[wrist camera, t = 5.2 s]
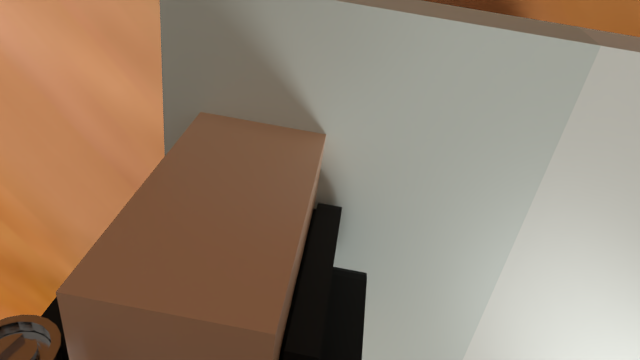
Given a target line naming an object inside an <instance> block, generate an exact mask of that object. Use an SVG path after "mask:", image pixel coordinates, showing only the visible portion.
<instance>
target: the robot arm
mask: <svg viewBox="0 0 640 360" xmlns="http://www.w3.org/2000/svg"><path fill="white" fill-rule="evenodd" d="M341 212H342V207H339V206H334V205H328V204H323V203H318V204H317V208H316V209H313V213H312V217H311V221H310V225H309V230H308V234H307V238H306V242H305V247H304V251H303V255H302V259H301V264H300V268H299V272H298V276H297V281H296V285H295V289H294V293H293V297H292V302H291V306H290V310H289V314H288V319H287V323H286V327H285V331H284V336H283V340H282V345H281V351H280V356H279V360H362V348H363V333H364V317H365V301H366V285H367V273H365V272H359V271H354V270H349V269H343V268H338V267H333V265H334V258H335V252H336V245H337V238H338V232H339V225H340V219H341ZM0 360H69V356H68V351H67V346H66V341H65V335H64V330H63V325H62V320H61V315H60V310H59V305H58V300H57V297H56V298H55V299H54V301H53V302H52V303H51V304H50V306H49V307H48V308H47V310H46V311H45V312H44V313H43V315H42V316H37V315H18V316H12V317H7V318H4V319H1V320H0Z"/></svg>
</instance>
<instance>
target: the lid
mask: <svg viewBox="0 0 640 360" xmlns="http://www.w3.org/2000/svg"><path fill="white" fill-rule="evenodd" d="M160 21H161V52H162V83H163V114H164V145H165V157H164V158H163V159H162V160H161V162H160V163H159V164H158V165H157V167H156V168H155V169H154V170H153V172H152V173H151V174H150V175H149V177H148V178H147V179H146V180H145V182H144V183H143V184H142V185H141V187H140V188H139V189H138V190H137V192H136V193H135V194H134V195H133V197H132V198H131V199H130V200H129V202H128V203H127V204H126V205H125V207H124V208H123V209H122V210H121V212H120V213H119V214H118V215H117V217H116V218H115V219H114V220H113V222H112V223H111V224H110V225H109V227H108V228H107V229H106V230H105V232H104V233H103V234H102V235H101V237H100V238H99V239H98V240H97V242H96V243H95V244H94V245H93V247H92V248H91V249H90V250H89V252H88V253H87V254H86V255H85V257H84V258H83V259H82V260H81V261H80V263H79V264H78V265H77V266H76V268H75V269H74V270H73V271H72V273H71V274H70V275H69V276H68V278H67V279H66V280H65V281H64V283H63V284H62V285H61V286H60V288H59V289H58V290H57V291H56V295H57V300H58V305H59V310H60V315H61V320H62V325H63V330H64V335H65V341H66V346H67V351H68V356H69V360H279V356H280V351H281V345H282V340H283V336H284V331H285V327H286V323H287V319H288V314H289V310H290V306H291V302H292V297H293V293H294V289H295V285H296V281H297V276H298V272H299V268H300V264H301V259H302V255H303V251H304V247H305V242H306V238H307V234H308V230H309V225H310V221H311V217H312V213H313V209H316V208H317V204H318V203H323V204H328V205H334V206H339V207H342V212H341V219H340V225H339V232H338V238H337V245H336V252H335V258H334V265H333V267H338V268H343V269H349V270H354V271H359V272H365V273H367V285H366V301H365V317H364V333H363V348H362V360H640V37H635V36H629V35H623V34H617V33H611V32H606V31H600V30H594V29H588V28H582V27H576V26H570V25H564V24H558V23H552V22H547V21H541V20H535V19H529V18H523V17H517V16H511V15H505V14H499V13H494V12H488V11H482V10H476V9H470V8H464V7H458V6H452V5H446V4H440V3H435V2H429V1H423V0H160Z"/></svg>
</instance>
